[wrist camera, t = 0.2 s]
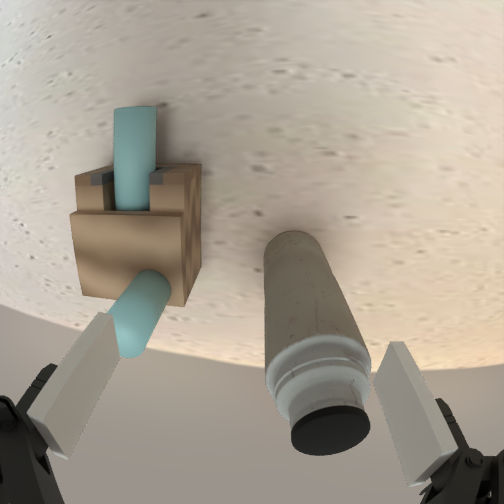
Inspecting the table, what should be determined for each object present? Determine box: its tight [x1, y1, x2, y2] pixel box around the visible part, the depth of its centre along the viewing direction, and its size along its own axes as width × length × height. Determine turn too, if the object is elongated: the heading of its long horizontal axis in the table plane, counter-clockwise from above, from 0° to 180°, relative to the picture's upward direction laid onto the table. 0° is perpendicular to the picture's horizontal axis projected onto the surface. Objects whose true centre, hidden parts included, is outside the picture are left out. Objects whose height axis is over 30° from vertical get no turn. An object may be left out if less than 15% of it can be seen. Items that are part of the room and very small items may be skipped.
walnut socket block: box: [69, 164, 201, 307], centre depth 35 cm, size 14×13×10 cm
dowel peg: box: [114, 106, 157, 211], centre depth 31 cm, size 13×5×5 cm, turn 177°
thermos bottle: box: [264, 231, 371, 456], centre depth 28 cm, size 8×8×28 cm
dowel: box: [107, 270, 171, 358], centre depth 28 cm, size 4×4×9 cm
